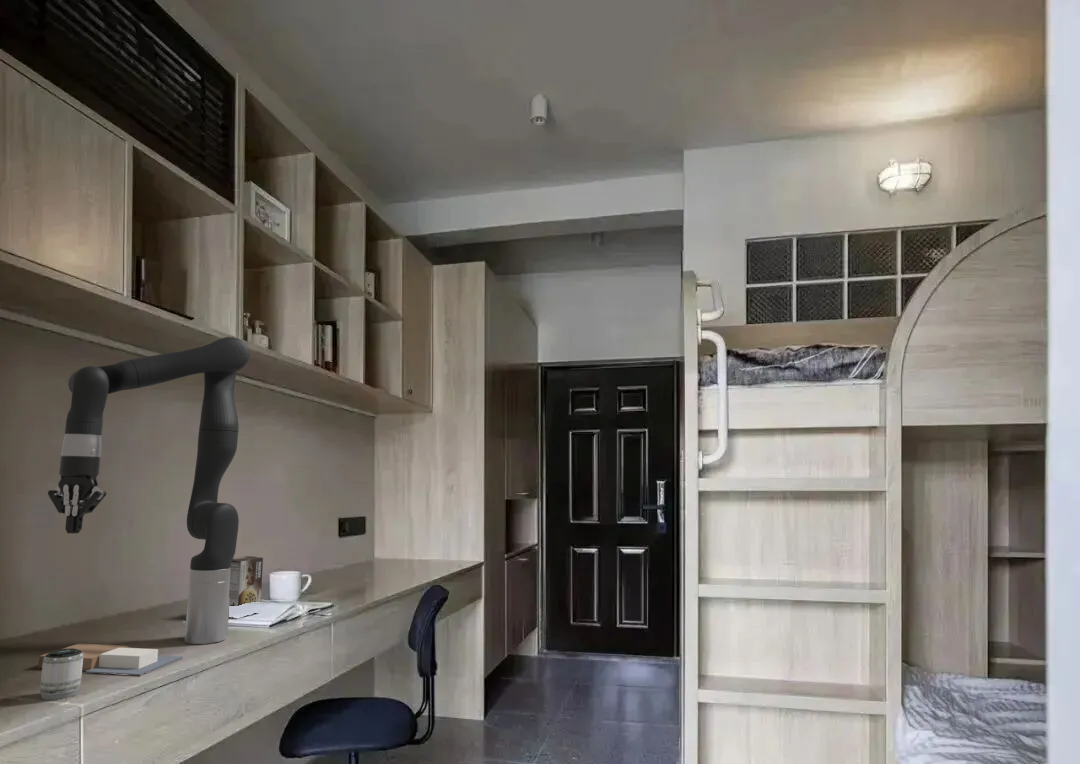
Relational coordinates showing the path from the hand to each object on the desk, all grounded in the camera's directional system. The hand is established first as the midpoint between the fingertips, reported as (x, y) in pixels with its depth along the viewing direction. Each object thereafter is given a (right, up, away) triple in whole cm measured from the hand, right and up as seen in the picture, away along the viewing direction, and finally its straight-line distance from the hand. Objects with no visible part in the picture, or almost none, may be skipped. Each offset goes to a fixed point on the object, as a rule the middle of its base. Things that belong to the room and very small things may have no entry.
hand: (72, 533), depth 157 cm
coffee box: (+18, -34, +46) cm, 60 cm away
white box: (+17, -26, -7) cm, 32 cm away
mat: (+18, -27, -7) cm, 33 cm away
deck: (+6, -27, -6) cm, 28 cm away
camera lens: (+16, -24, -27) cm, 40 cm away
